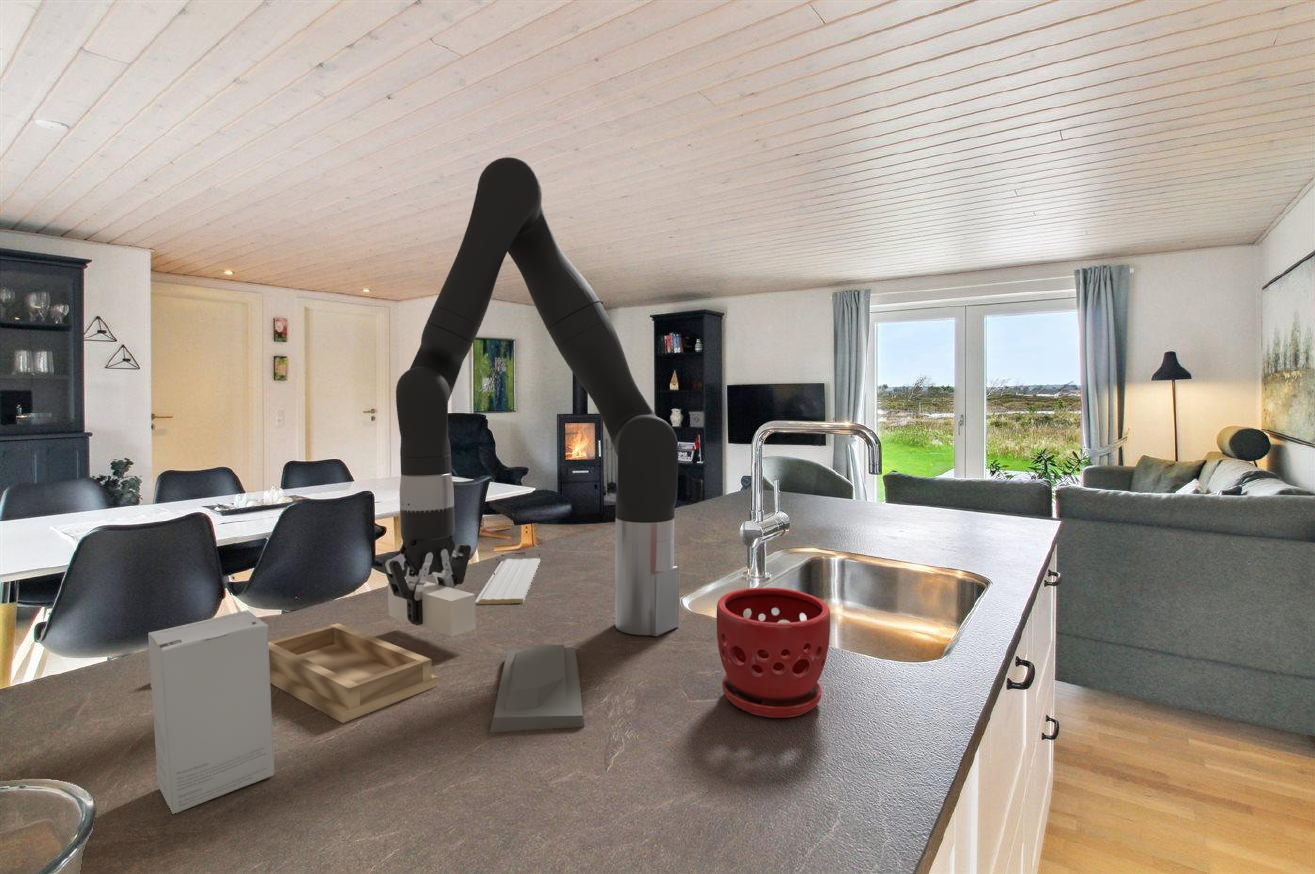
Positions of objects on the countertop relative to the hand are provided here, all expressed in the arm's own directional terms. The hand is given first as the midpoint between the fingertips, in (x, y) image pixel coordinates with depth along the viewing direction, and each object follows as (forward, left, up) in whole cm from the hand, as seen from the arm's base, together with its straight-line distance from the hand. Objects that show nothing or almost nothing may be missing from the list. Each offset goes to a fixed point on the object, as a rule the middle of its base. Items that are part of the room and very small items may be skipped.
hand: (430, 618), depth 98 cm
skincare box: (-17, +34, -3) cm, 38 cm away
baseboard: (+16, -29, -4) cm, 33 cm away
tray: (-4, +15, -3) cm, 16 cm away
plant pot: (-50, -12, -3) cm, 51 cm away
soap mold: (-25, +2, -4) cm, 26 cm away
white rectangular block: (0, 0, 0) cm, 0 cm away
